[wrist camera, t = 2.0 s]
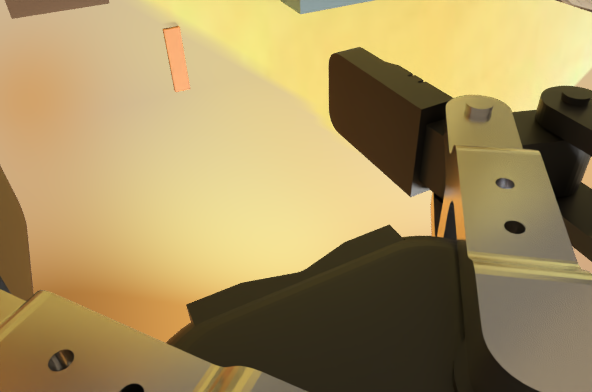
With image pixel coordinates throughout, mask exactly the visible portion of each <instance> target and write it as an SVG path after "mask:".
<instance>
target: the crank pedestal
mask: <svg viewBox="0 0 592 392" xmlns="http://www.w3.org/2000/svg"><path fill="white" fill-rule="evenodd" d="M163 33H164V38H165V43H166V48H167V53H168V59H169V64H170V69H171V74H172V79H173V85H174V90H175V92H179V91H184V90H187V89H190V85H189V79H188V73H187V67H186V61H185V55H184V50H183V44H182V38H181V32H180V27H179V26H176V27H171V28H166V29H163Z"/></svg>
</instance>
